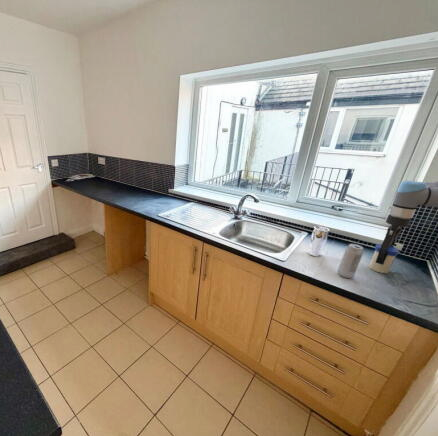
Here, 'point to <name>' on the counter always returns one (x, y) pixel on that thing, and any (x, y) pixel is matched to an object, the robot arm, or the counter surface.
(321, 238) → the beer glass
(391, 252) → the jar lid
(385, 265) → the jam jar
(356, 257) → the energy drink can
